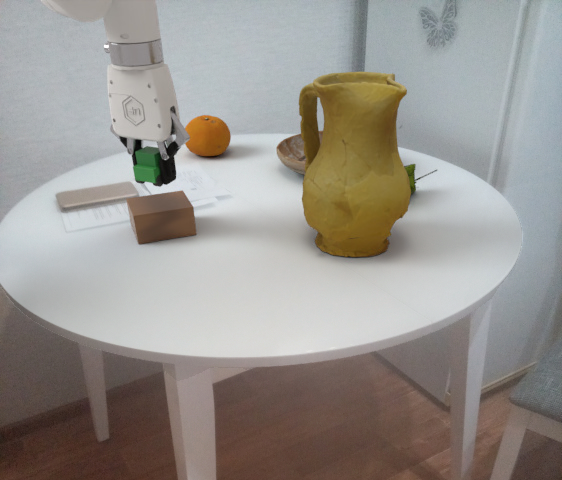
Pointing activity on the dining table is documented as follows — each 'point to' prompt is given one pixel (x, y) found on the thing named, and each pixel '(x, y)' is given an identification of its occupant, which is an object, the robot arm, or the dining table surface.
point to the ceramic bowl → (293, 153)
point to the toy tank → (413, 176)
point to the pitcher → (353, 162)
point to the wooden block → (161, 216)
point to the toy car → (148, 166)
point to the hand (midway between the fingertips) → (156, 178)
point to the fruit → (207, 136)
